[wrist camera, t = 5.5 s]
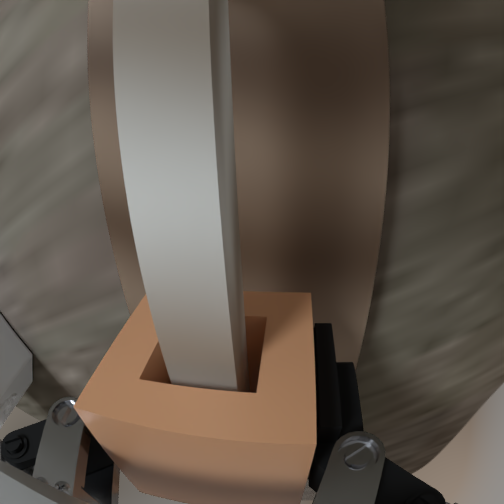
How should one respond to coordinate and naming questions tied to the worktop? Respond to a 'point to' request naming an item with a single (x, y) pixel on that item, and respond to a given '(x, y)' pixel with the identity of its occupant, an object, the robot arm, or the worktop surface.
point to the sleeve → (212, 411)
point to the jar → (12, 369)
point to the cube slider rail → (241, 165)
